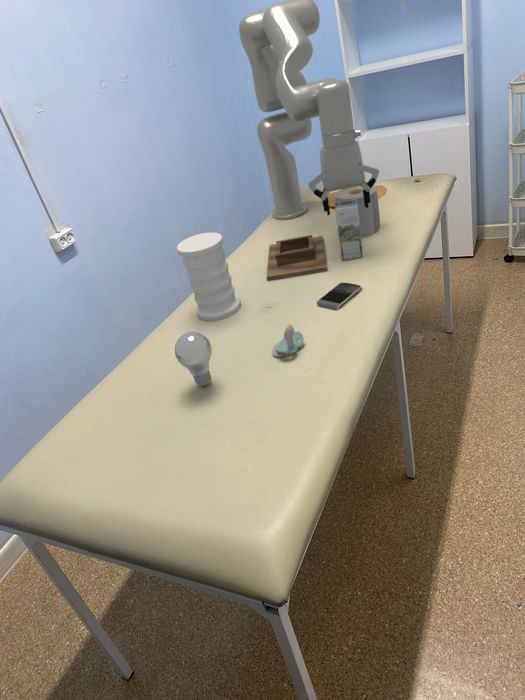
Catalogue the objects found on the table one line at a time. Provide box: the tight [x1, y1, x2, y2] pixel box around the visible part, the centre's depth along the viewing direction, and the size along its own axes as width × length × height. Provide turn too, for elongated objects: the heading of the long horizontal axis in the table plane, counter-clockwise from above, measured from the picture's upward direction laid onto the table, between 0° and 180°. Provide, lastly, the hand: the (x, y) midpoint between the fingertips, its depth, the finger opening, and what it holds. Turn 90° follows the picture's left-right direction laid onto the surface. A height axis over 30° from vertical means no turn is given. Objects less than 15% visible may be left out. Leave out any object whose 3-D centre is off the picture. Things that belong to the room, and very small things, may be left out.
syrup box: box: [334, 199, 364, 262], centre depth 130 cm, size 6×6×14 cm
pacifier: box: [271, 324, 304, 358], centre depth 102 cm, size 7×6×6 cm
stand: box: [266, 234, 328, 282], centre depth 139 cm, size 22×16×4 cm
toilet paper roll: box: [334, 185, 381, 239], centre depth 145 cm, size 12×12×12 cm
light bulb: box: [174, 331, 213, 387], centre depth 96 cm, size 7×7×12 cm
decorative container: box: [176, 232, 242, 322], centre depth 120 cm, size 12×12×18 cm
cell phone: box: [316, 282, 363, 311], centre depth 117 cm, size 6×11×1 cm, turn 138°
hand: (347, 209), depth 127 cm, fingers open, 9 cm apart
